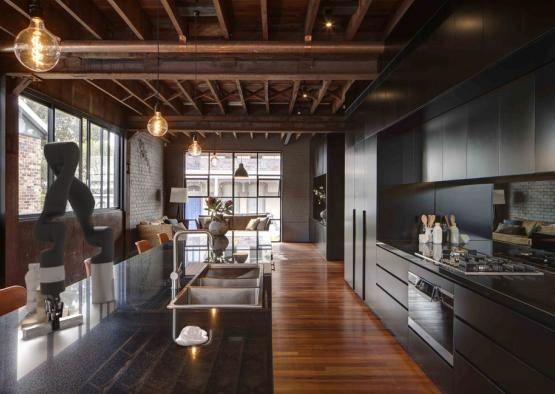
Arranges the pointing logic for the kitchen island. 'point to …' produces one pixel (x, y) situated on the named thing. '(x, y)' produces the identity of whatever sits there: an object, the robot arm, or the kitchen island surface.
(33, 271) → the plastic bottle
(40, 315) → the balance stand
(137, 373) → the kitchen island surface
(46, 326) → the aluminium bar
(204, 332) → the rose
